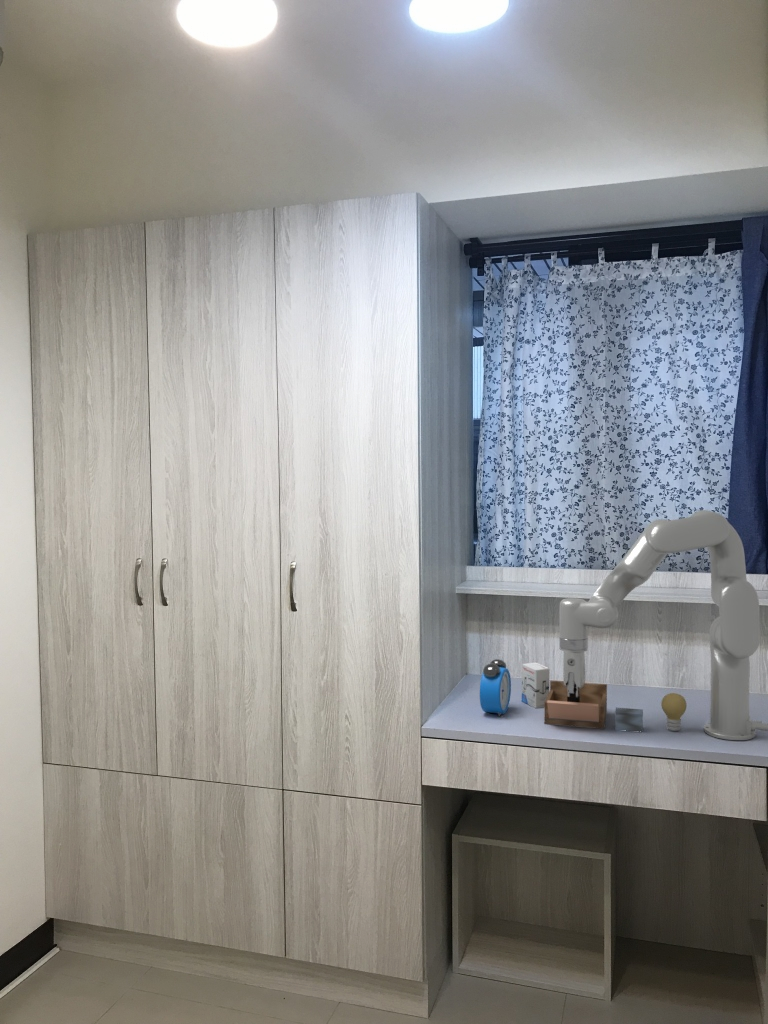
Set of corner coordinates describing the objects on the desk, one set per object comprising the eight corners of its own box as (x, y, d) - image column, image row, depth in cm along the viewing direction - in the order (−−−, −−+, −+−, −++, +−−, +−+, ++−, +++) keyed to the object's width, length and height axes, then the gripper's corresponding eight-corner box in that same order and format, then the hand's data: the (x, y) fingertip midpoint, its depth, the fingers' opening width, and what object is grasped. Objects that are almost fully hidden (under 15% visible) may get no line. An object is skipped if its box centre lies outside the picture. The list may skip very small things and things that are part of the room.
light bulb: (666, 725, 229) (666, 689, 228) (689, 729, 225) (690, 692, 224) (657, 730, 224) (657, 694, 223) (681, 735, 220) (681, 698, 219)
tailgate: (599, 721, 226) (598, 704, 222) (598, 723, 226) (598, 706, 222) (549, 717, 230) (547, 700, 226) (548, 719, 230) (547, 702, 226)
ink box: (520, 701, 254) (520, 663, 253) (535, 699, 255) (535, 661, 255) (535, 708, 246) (535, 669, 245) (550, 706, 247) (550, 667, 247)
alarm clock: (499, 720, 235) (499, 667, 234) (478, 717, 237) (478, 665, 237) (511, 707, 247) (511, 657, 246) (491, 705, 249) (491, 656, 249)
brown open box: (606, 713, 240) (606, 684, 240) (603, 728, 226) (604, 697, 226) (550, 708, 245) (550, 680, 245) (544, 723, 231) (544, 693, 230)
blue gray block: (642, 727, 227) (642, 709, 227) (642, 732, 223) (642, 714, 222) (615, 725, 229) (615, 707, 229) (615, 730, 225) (615, 712, 224)
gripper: (584, 650, 218) (584, 719, 219) (590, 639, 232) (590, 704, 233) (555, 648, 221) (555, 717, 221) (563, 638, 235) (563, 702, 235)
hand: (573, 710), depth 227 cm, fingers closed
